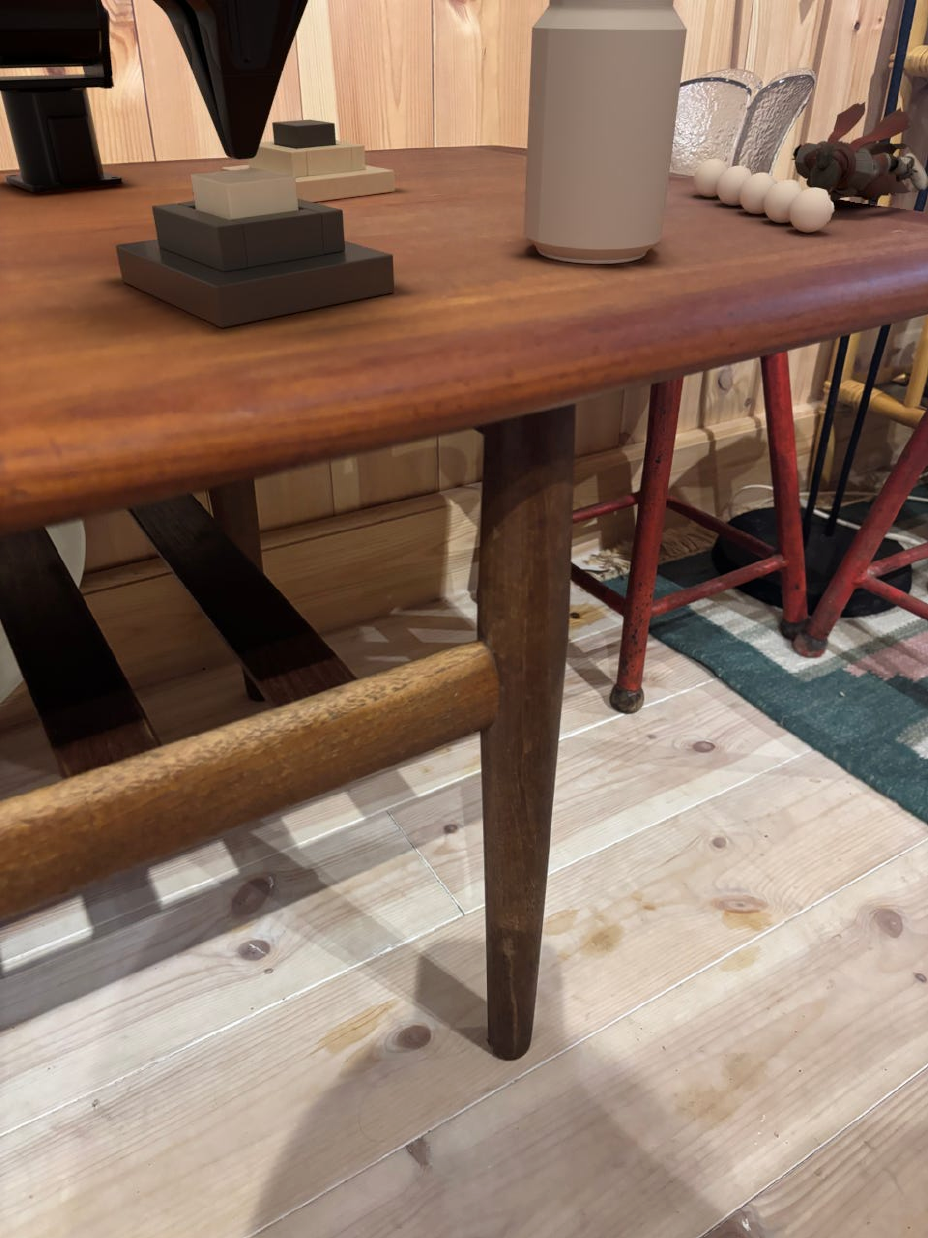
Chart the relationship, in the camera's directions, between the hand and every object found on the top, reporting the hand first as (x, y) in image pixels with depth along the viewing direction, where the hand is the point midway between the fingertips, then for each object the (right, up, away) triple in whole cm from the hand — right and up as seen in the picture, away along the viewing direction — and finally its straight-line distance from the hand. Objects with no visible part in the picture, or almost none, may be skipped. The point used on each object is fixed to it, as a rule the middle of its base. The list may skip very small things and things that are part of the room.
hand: (241, 157), depth 40 cm
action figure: (+41, +15, +27) cm, 52 cm away
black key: (-1, +13, +25) cm, 28 cm away
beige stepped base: (-1, +11, +26) cm, 28 cm away
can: (+17, 0, +10) cm, 20 cm away
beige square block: (0, -2, +1) cm, 2 cm away
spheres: (+29, +9, +18) cm, 35 cm away
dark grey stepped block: (0, -5, +3) cm, 6 cm away
